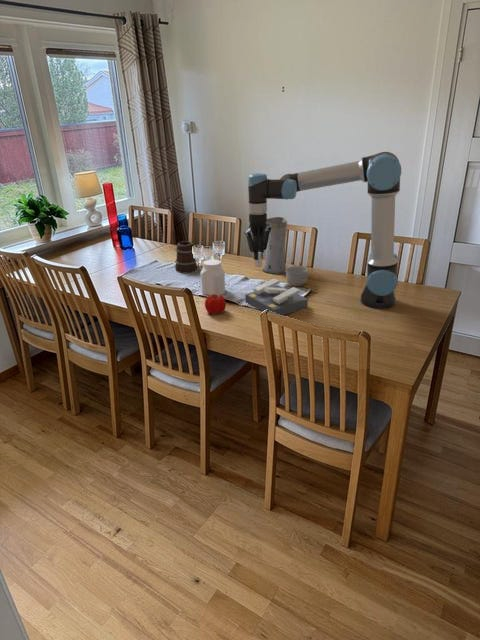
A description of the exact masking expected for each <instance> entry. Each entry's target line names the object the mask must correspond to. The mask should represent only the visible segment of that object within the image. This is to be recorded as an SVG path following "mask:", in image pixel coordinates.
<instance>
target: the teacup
mask: <svg viewBox="0 0 480 640" xmlns="http://www.w3.org/2000/svg"><path fill="white" fill-rule="evenodd" d="M308 271H309V269H308V268H307V267H305V266H301V265H296V264H295V265H293V266H288V267H286V272H285V277H286V278H285V279H286V282H287V283H288V284H289V285H291V286H292V287H302V286H304V285H305V284H306V283H307V282H308Z"/></svg>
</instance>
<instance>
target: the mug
mask: <svg viewBox="0 0 480 640" xmlns="http://www.w3.org/2000/svg"><path fill="white" fill-rule="evenodd" d="M194 245H195V244H194V243H193V242H192V241H188V240H184V241H183V240H182V241H179V242H178V243H177V244H176V248H175V249H174V250H175V252H176V259H175V261H174V262H175V266H174V268H175V269H176V272H178V271H180V272H179V273H183V272H187V273H193V272H196V271H197V270H198V264H197V259H196V258H195V259H196V260H195V259H194V258H193V254H192V246H194ZM192 271H193V272H192Z"/></svg>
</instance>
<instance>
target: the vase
mask: <svg viewBox="0 0 480 640" xmlns="http://www.w3.org/2000/svg"><path fill="white" fill-rule="evenodd" d="M266 224H267V226H268V227H271V231H270V233H269V238H268V244H267V249H266V250H265V259H264V264H263V267H262V271H263V273H267V274H272V275H282V274H284V273H285V274H286V269H287V266H286V264H287V263H286V235H287V229H288V227H287V224H288V221H287V219H285V218H284V217H282V216H281V217H280V216H275V217H269V218H267V221H266Z"/></svg>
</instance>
